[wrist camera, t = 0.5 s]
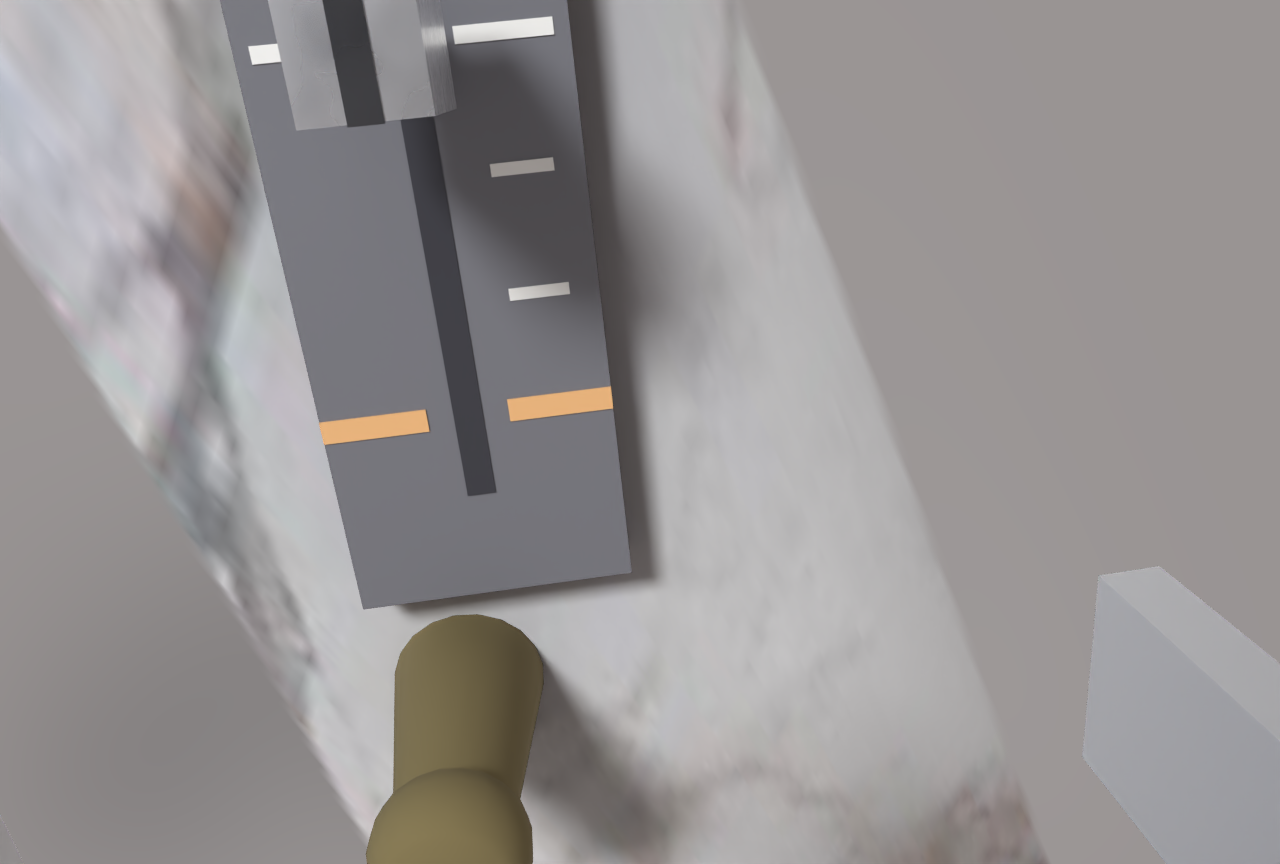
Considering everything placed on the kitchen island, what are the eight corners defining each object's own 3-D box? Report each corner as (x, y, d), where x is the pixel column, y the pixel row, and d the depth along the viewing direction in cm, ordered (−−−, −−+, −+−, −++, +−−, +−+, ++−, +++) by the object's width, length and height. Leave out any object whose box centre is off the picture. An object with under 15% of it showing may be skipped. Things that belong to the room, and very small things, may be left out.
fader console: (228, -48, 28) (206, -57, 27) (555, -78, 29) (557, -89, 27) (372, 582, 36) (363, 610, 34) (626, 547, 37) (632, 573, 35)
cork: (444, 760, 40) (412, 997, 29) (365, 656, 38) (301, 872, 27) (570, 699, 39) (582, 917, 29) (498, 589, 37) (483, 783, 27)
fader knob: (335, -33, 27) (249, -81, 19) (440, -43, 27) (400, -95, 19) (364, 118, 28) (296, 133, 20) (463, 107, 28) (435, 118, 20)
